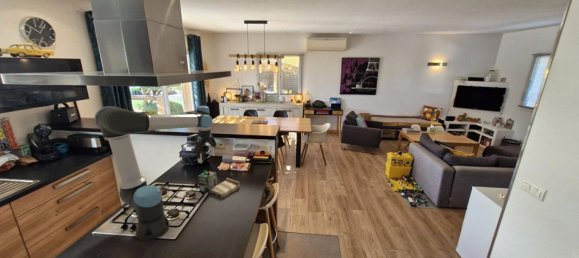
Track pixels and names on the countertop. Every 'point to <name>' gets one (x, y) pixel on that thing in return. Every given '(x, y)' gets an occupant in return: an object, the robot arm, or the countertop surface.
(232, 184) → the dock
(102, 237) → the countertop surface
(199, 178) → the chalk box
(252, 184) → the countertop surface
